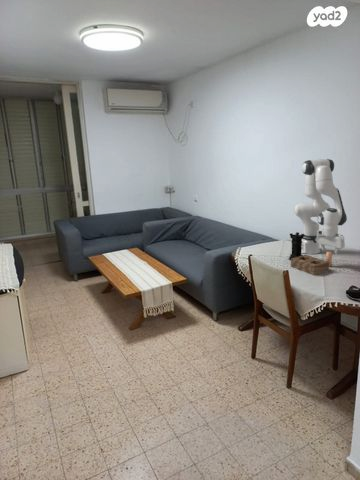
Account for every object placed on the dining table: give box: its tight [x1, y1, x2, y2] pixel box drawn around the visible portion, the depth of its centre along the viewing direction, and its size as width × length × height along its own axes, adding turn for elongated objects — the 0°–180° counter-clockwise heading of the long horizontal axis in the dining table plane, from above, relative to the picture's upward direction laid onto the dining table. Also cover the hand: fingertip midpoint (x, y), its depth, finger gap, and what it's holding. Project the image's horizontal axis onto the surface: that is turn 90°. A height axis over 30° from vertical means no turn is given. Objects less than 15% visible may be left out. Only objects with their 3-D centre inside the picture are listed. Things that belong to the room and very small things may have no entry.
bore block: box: [290, 254, 330, 276], centre depth 226 cm, size 20×14×6 cm
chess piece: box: [287, 231, 304, 261], centre depth 242 cm, size 8×8×20 cm
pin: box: [325, 251, 333, 268], centre depth 227 cm, size 4×4×10 cm
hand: (329, 252), depth 225 cm, fingers open, 8 cm apart
